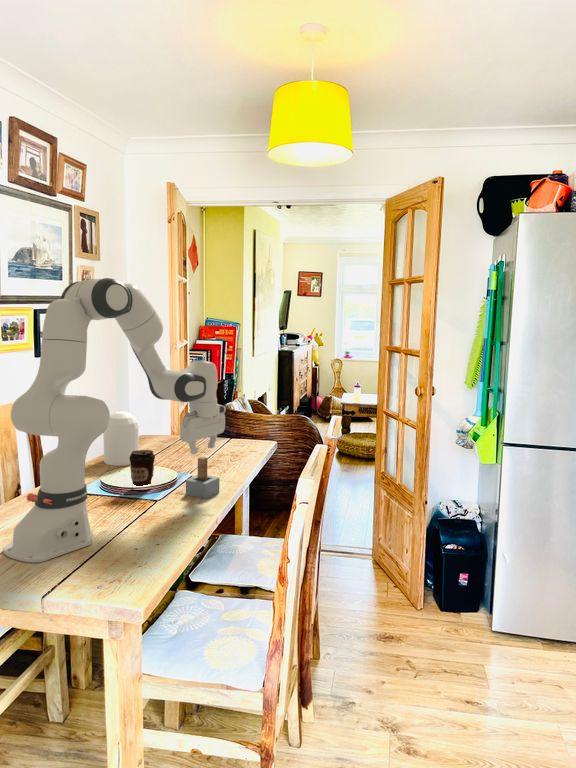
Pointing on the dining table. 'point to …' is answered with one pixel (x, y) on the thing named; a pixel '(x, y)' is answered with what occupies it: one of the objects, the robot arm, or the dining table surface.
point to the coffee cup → (142, 467)
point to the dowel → (202, 469)
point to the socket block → (202, 486)
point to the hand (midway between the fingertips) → (202, 450)
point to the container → (120, 438)
